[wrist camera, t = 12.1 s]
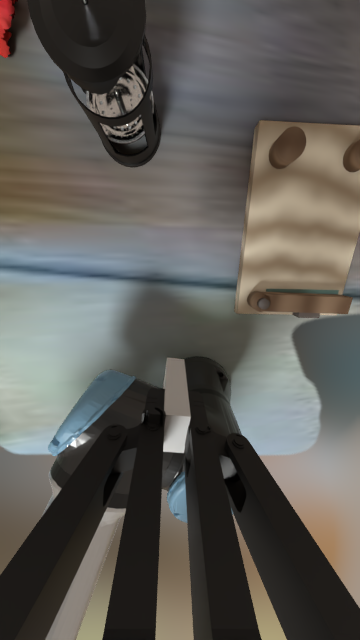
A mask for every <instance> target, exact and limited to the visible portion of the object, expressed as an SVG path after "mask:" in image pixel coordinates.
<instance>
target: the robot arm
mask: <svg viewBox="0 0 360 640" xmlns="http://www.w3.org/2000/svg"><path fill="white" fill-rule="evenodd" d="M230 396H231V386H230V381H229V378H228V376H227V374H226V372H225V370H224V369H223V368H222V367H221V366H220V365H219V364H218V363H217V362H215V361H213V360H211V359H208V358H204V357H191V358H186V359H176V358H167V362H166V370H165V377H164V381H163V389H160V388H157V387H155V386H153V385H150V384H148V383H146V382H143V381H141V380H139V379H136V377H135V376H132V377H131V376H129V375H126V374H123V373H120V372H118V371H115V370H106V371H104V372H102V373H100V374H99V375H98V376H97V377H96V378H95V379H94V381H93V382H92V383H91V384H90V386H89V387H88V388H87V390H86V391H85V392H84V394H83V395H82V396H81V398H80V399H79V400H78V402H77V403H76V405H75V406H74V407H73V409H72V410H71V412H70V413H69V414H68V416H67V417H66V419H65V420H64V422H63V423H62V425H61V426H60V428H59V429H58V431H57V433H56V435H55V436H54V438H53V440H52V441H51V442H50V444H49V446H48V450H49V452H51V453H52V455H53V456H57V455H58V456H57V459H56V461H55V462H54V464H53V466H52V468H51V470H50V472H49V479H50V482H51V486H52V490H53V495H52V497H51V499H50V501H49V503H48V505H47V507H46V509H45V511H44V513H43V515H42V517H41V519H40V520H39V522H38V523H37V524H36V526H35V527H34V529H33V530H32V531H31V533H30V534H29V536H28V537H27V539H26V540H25V541H24V543H23V544H22V545H21V547H20V548H19V550H18V551H17V553H16V554H15V555H14V557H13V558H12V560H11V561H10V562H9V564H8V565H7V567H6V568H5V570H4V571H3V572H2V574H1V575H0V640H76V638H77V635H78V632H79V629H80V627H81V624H82V621H83V618H84V616H85V613H86V610H87V607H88V605H89V602H90V599H91V597H92V594H93V591H94V588H95V586H96V583H97V580H98V577H99V575H100V572H101V569H102V567H103V564H104V561H105V558H106V555H107V553H108V550H109V547H110V545H111V542H112V539H113V536H114V534H115V531H116V528H117V525H118V523H119V520H120V518H121V517H122V516H123V515H125V518H124V523H123V529H122V535H121V540H120V545H119V551H118V557H117V562H116V568H115V574H114V579H113V584H112V590H111V595H110V601H109V607H108V612H107V618H106V624H105V629H104V634H103V639H102V640H155V631H156V606H157V584H158V561H159V537H160V536H159V535H160V514H161V491H162V489H164V490H167V491H168V493H167V502H168V503H169V508H170V510H171V512H172V513H173V514H174V516H175V517H176V518H177V519H179V520H181V521H183V522H186V523H188V541H189V560H190V577H191V596H192V615H193V633H194V640H262V639H261V637H260V633H259V629H258V625H257V621H256V616H255V612H254V608H253V603H252V599H251V595H250V590H249V586H248V581H247V577H246V573H245V568H244V564H243V560H242V555H241V551H240V547H239V542H238V537H237V533H236V529H235V524H234V520H233V516H232V515H233V514H234V516H235V518H236V521H237V523H238V525H239V528H240V530H241V532H242V535H243V537H244V540H245V542H246V544H247V546H248V549H249V551H250V554H251V556H252V558H253V561H254V563H255V565H256V568H257V570H258V572H259V575H260V577H261V580H262V582H263V584H264V587H265V589H266V591H267V594H268V596H269V598H270V601H271V603H272V605H273V608H274V610H275V612H276V615H277V617H278V620H279V622H280V624H281V627H282V629H283V631H284V633H285V636H286V638H287V640H360V608H359V607H358V605H357V604H356V602H355V601H354V599H353V598H352V596H351V595H350V593H349V592H348V590H347V589H346V587H345V586H344V584H343V583H342V581H341V580H340V578H339V577H338V575H337V574H336V572H335V571H334V569H333V568H332V566H331V565H330V563H329V562H328V560H327V558H326V557H325V555H324V554H323V553H322V551H321V550H320V548H319V546H318V545H317V543H316V542H315V540H314V539H313V538H312V536H311V534H310V533H309V531H308V530H307V528H306V527H305V525H304V524H303V522H302V521H301V519H300V518H299V516H298V515H297V513H296V512H295V510H294V509H293V507H292V506H291V504H290V503H289V501H288V500H287V498H286V497H285V495H284V494H283V492H282V491H281V489H280V488H279V486H278V485H277V483H276V482H275V480H274V479H273V477H272V476H271V474H270V473H269V471H268V469H267V468H266V467H265V465H264V464H263V462H262V460H261V459H260V457H259V456H258V454H257V453H256V451H255V450H254V448H253V447H252V445H251V444H250V442H249V441H248V440H247V439H246V438H245V437H244V436H243V435H242V434H241V431H240V429H239V426H238V424H237V421H236V419H235V416H234V414H233V411H232V409H231V406H230Z"/></svg>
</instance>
